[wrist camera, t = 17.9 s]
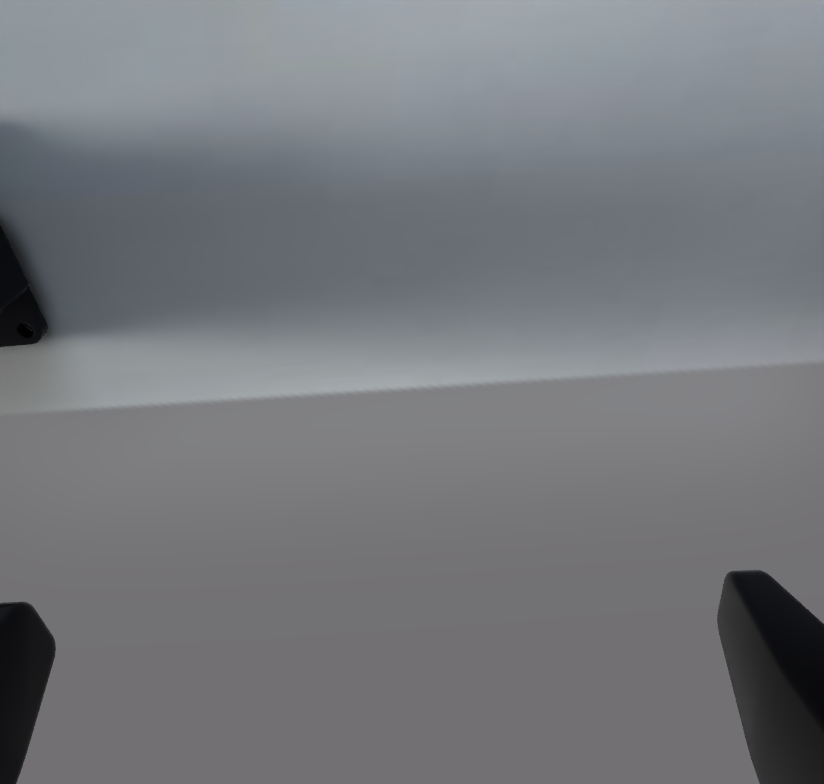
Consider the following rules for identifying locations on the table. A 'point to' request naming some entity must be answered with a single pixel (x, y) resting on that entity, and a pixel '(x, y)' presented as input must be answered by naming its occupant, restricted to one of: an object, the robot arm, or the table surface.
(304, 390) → the table surface
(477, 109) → the table surface
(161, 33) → the table surface
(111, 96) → the table surface
